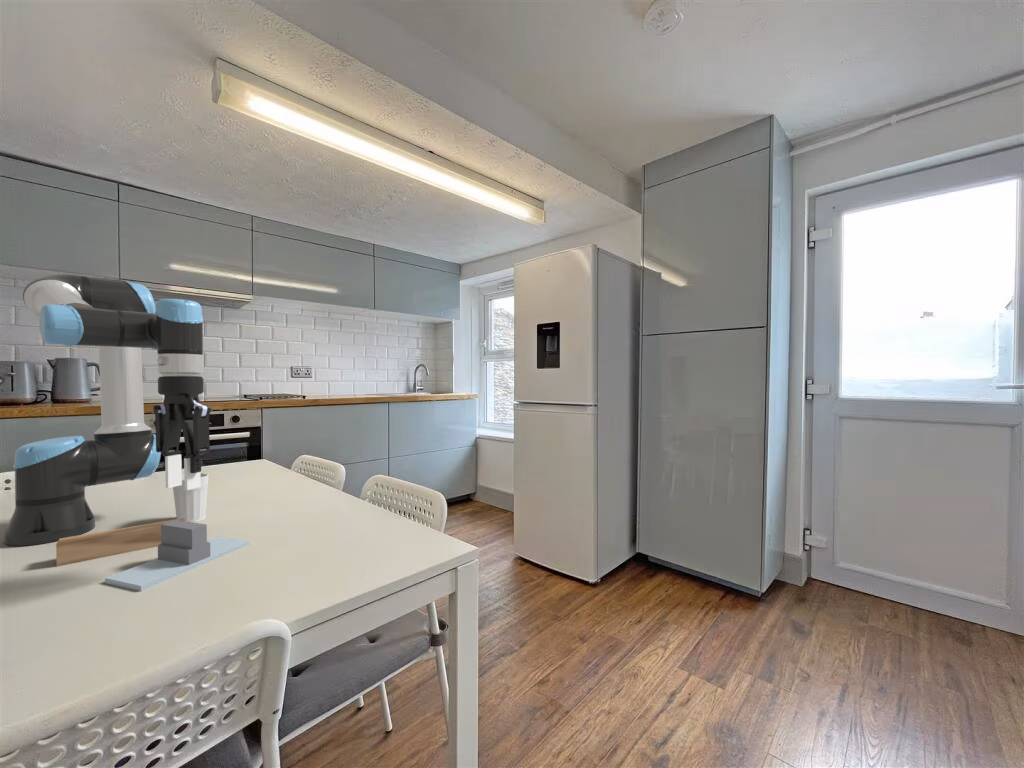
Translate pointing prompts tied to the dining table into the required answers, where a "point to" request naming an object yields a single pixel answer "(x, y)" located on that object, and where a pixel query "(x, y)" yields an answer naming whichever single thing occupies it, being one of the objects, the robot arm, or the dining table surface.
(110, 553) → the bar
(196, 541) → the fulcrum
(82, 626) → the dining table surface
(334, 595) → the dining table surface
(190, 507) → the cup
